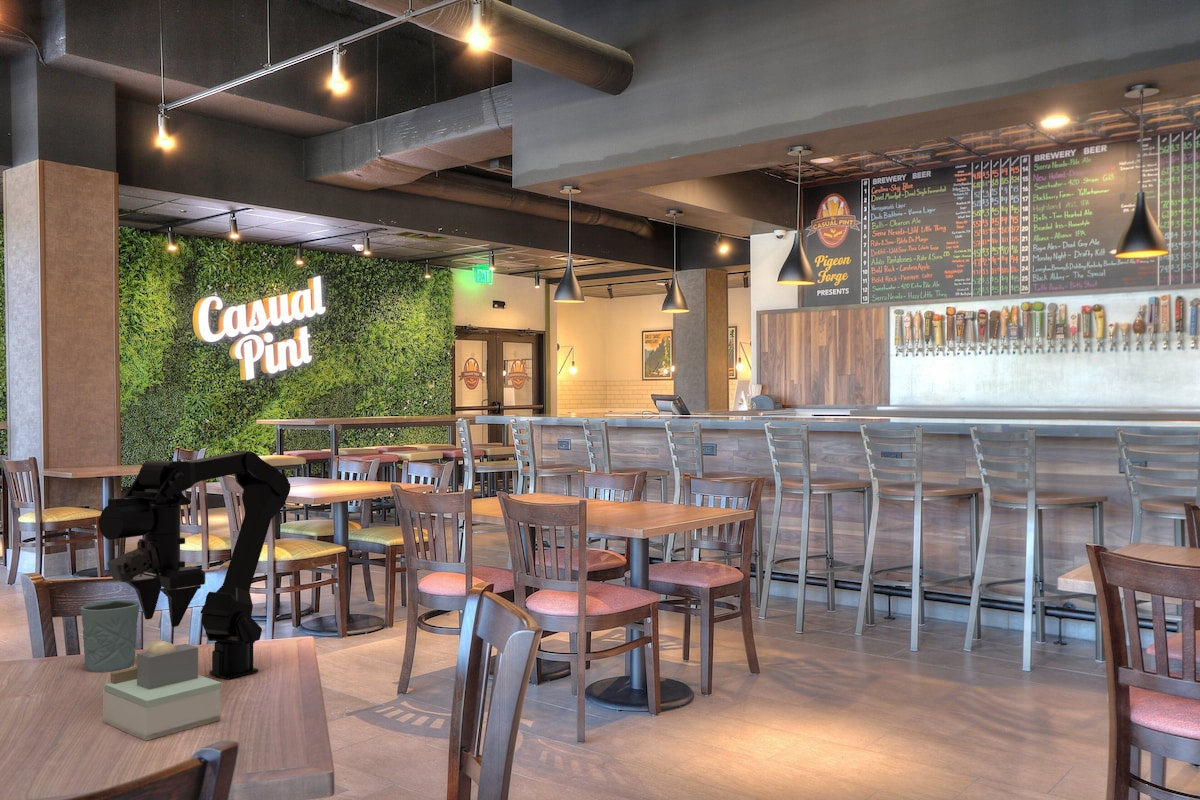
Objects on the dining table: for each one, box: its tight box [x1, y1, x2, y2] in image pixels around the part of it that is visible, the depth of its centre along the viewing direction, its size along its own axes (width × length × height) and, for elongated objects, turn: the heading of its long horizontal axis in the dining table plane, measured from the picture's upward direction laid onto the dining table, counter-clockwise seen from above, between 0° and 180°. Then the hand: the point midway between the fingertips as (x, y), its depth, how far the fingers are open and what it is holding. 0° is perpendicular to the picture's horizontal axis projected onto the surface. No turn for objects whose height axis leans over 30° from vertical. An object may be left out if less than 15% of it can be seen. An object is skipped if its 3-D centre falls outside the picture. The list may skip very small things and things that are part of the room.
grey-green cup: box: [80, 599, 140, 673], centre depth 181 cm, size 10×10×12 cm
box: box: [102, 689, 221, 742], centre depth 149 cm, size 12×14×5 cm
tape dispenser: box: [136, 639, 199, 690], centre depth 150 cm, size 8×4×7 cm, turn 142°
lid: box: [103, 666, 222, 707], centre depth 149 cm, size 12×14×3 cm
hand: (161, 622), depth 161 cm, fingers open, 9 cm apart
